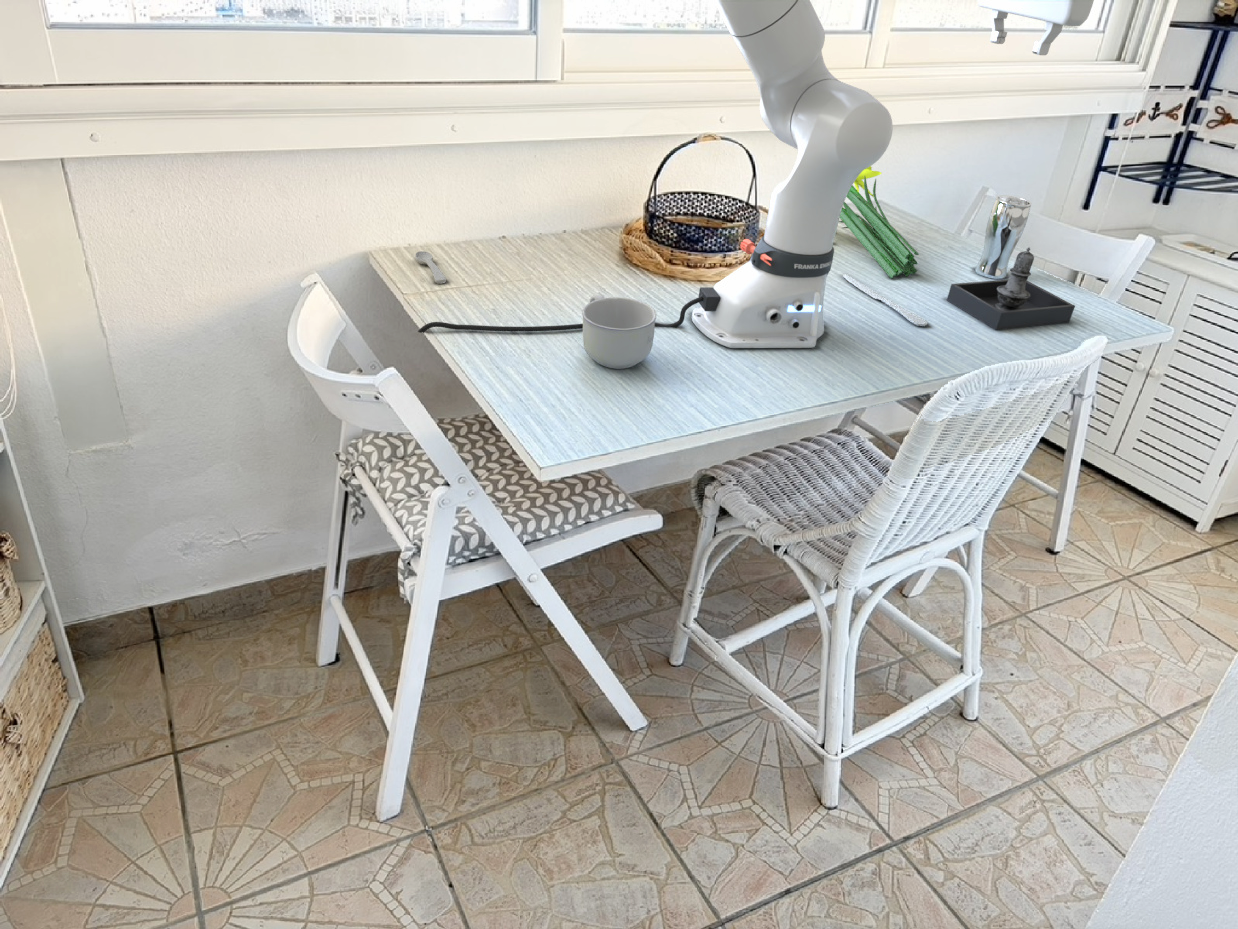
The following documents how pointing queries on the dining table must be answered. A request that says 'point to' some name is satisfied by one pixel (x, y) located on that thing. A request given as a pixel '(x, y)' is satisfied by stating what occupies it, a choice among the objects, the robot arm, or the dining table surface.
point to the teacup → (618, 330)
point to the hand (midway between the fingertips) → (1017, 48)
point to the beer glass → (1002, 235)
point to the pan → (1032, 313)
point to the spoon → (428, 259)
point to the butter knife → (887, 302)
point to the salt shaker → (1016, 284)
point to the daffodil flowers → (877, 230)
